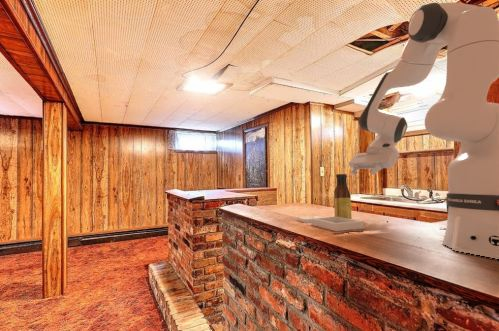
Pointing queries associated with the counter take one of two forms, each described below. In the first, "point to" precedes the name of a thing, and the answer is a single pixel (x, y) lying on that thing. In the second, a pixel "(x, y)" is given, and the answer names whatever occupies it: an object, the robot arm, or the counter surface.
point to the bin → (338, 224)
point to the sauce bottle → (342, 198)
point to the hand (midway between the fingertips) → (362, 173)
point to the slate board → (300, 221)
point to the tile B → (304, 219)
